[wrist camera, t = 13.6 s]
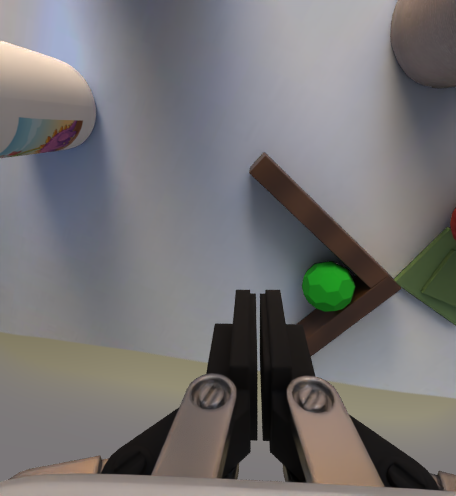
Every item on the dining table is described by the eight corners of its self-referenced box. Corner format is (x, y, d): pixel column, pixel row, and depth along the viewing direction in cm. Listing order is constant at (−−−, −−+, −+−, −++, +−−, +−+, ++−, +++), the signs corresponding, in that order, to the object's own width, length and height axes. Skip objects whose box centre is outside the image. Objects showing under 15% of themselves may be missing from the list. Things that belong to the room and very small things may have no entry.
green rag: (392, 279, 33) (396, 284, 32) (446, 226, 31) (453, 230, 30) (454, 323, 35) (460, 329, 34) (511, 275, 32) (519, 280, 31)
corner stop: (178, 245, 34) (170, 257, 31) (264, 151, 30) (265, 154, 26) (296, 343, 37) (300, 364, 34) (387, 272, 33) (402, 288, 30)
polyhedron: (324, 244, 32) (336, 263, 28) (357, 274, 33) (372, 297, 29) (289, 276, 34) (295, 299, 30) (321, 303, 35) (331, 330, 31)
